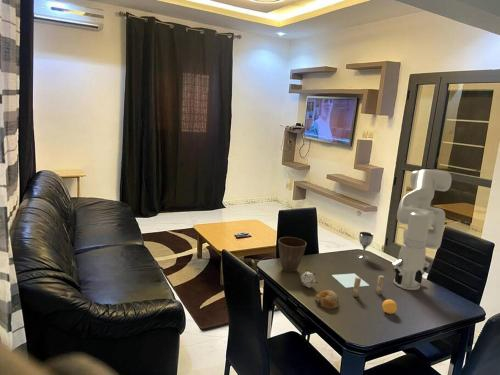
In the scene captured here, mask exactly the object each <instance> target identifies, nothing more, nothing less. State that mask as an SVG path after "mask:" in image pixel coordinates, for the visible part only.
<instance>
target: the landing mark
mask: <svg viewBox="0 0 500 375" xmlns="http://www.w3.org/2000/svg"><path fill="white" fill-rule="evenodd" d="M331 276H332V277H333V278H334V279H335V280H336V281H337V282H338V283H340V285H341V286H342V287H344V288H345V289H349V288H354V282H355V277H359V278H361V277H360V276H359V275H357V274H356V273H343V274H342V273H339V274H331ZM363 287H370V284H369V283H368V282H366V281H365V280H363V279H362V278H361V281H360V288H363Z"/></svg>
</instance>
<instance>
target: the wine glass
mask: <svg viewBox="0 0 500 375" xmlns="http://www.w3.org/2000/svg"><path fill="white" fill-rule="evenodd" d="M358 235H359V236H358V238H359V239H358V240H359V243H360V245H361V246H362V248H363V249H362V254H358V255H356V257H357V259H360V260H363V261H364V260H365V261H366V260H367V261H368V260H369V259H370V257H369V256H368V255H365V252H366V249H367V248H368V247H369V246H370V245H372V243H373V240H374V239H373V238H374V234H373V233H371V232H367V231H360V232H359V234H358Z"/></svg>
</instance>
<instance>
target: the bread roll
mask: <svg viewBox="0 0 500 375" xmlns="http://www.w3.org/2000/svg"><path fill="white" fill-rule="evenodd" d="M314 302H315V303H317V305H318V306H319V307H322V308H324V309H335V308H339V296H338V294H337V293H336V292H334V291H333V290H331V289H330V290H329V289H326V290H325V289H324V290H321V291H319V293H317V294H316V295H315V300H314Z"/></svg>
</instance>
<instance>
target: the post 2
mask: <svg viewBox="0 0 500 375" xmlns="http://www.w3.org/2000/svg"><path fill="white" fill-rule="evenodd" d="M384 281H385V276H384V275H379V274H378V278H377V283H376V290H375V294H376V295H378V296H381V295H382V293H383V287H384Z"/></svg>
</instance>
